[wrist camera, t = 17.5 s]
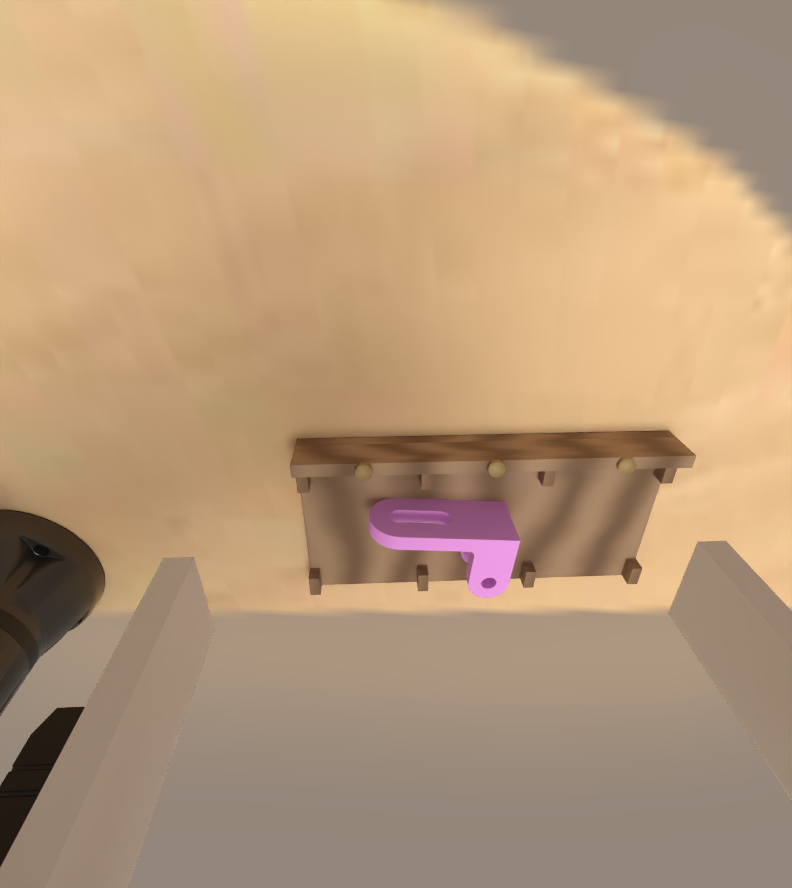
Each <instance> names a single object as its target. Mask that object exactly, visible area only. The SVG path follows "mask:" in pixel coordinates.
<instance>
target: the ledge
mask: <svg viewBox="0 0 792 888" xmlns="http://www.w3.org/2000/svg"><path fill="white" fill-rule="evenodd" d="M695 458H696V455H695V454H694V453H693V452H692V451H691V450H689V449H688V448H687V447H686V446H685V445H684V444H683V443H682V442H681V441H679V440H678V439H677V438H676V437H675V436H674V435H673V434H672V433H671V432H669V431H633V432H587V433H541V434H495V435H449V436H403V437H357V438H311V439H297V441H296V445H295V449H294V453H293V456H292V460H291V464H290V469H291V477H292V478H294V477H296V483H297V490H298V493H301V496H302V504H303V512H304V520H305V528H306V537H307V545H308V553H309V561H310V574H309V585H310V593H311V595H320V594H321V586H322V585H332V584H362V583H393V582H417V586H418V591H428V581H453V580H467V578H466V569H467V565H468V563H467V562H466V561H464V559H463V558H462V556H461V552H460V551H424V550H396V549H391V548H387V547H385V546H382V545H380V544H379V543H377V542H376V541H375V540H374V539H373V538H372V537H371V535H370V534H369V530H368V523H369V512H370V510H371V508H372V507H373V506H374V505H375V504H376V503H378V502H380V501H382V500H385V499H389V498H418V499H446V500H474V501H502V502H505V503H506V506H507V508H508V511H509V513H510V516H511V519H512V521H513V524H514V526H515V529H516V531H517V534H518V536H519V539H520V544H519V548H518V551H517V555H516V559H515V562H514V566H513V570H512V574H511V577H510V579H514V578H520V579H521V582H522V584H523V587H524V588H528V587H533V586H534V581H535V578H544V577H574V576H605V575H622V576H623V578H624V579H625V581H626V582H627V584H637V582H638V579H639V576H640V573H641V571H642V567H641V566H640V564H639V563H638V561H637V560H636V555H637V552H638V549H639V546H640V543H641V540H642V537H643V534H644V531H645V528H646V525H647V522H648V519H649V516H650V513H651V510H652V507H653V504H654V501H655V498H656V495H657V492H658V489H659V486H660V483H661V484H663V483H672V482H673V479H674V476H675V473H676V470H677V468H692V466H693V464H694V461H695ZM397 523H411V524H440V523H413V522H397ZM442 525H444V524H442Z"/></svg>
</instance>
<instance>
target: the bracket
mask: <svg viewBox="0 0 792 888" xmlns="http://www.w3.org/2000/svg"><path fill="white" fill-rule="evenodd" d="M397 522H413V523H440V524H411V523H397ZM442 524H444V525H442ZM368 530H369V534H370V535H371V537H372V538H373V539H374V540H375V541H376V542H377V543H379V544H380V545H382V546H385V547H387V548H391V549H396V550H424V551H460V552H461V556H462V558H463V559H464V561H466V562H467V563H468V565H467V569H466V578H467V582H468V586H469V589H470V591H471V592H472V593H473V594H474V595H476V596H478V597H483V598H489V597H494V596H497V595H499V594H501V593H502V592H503V591H505V590H506V588H507V587H508V585H509V581H510V577H511V574H512V570H513V566H514V562H515V559H516V555H517V551H518V548H519V544H520V539H519V536H518V534H517V531H516V529H515V526H514V524H513V521H512V519H511V516H510V513H509V511H508V508H507V506H506V503H505V502H502V501H474V500H446V499H418V498H389V499H385V500H382V501H380V502H378V503H376V504H375V505H374V506H373V507H372V508H371V510H370V512H369V523H368Z"/></svg>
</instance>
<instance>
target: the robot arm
mask: <svg viewBox="0 0 792 888" xmlns="http://www.w3.org/2000/svg"><path fill="white" fill-rule="evenodd" d="M104 586H105V577H104V572H103V569H102V566H101V564H100V562H99V560H98V559H97V557H96V556H95V554H94V553H93V552H92V551H91V549H90V548H89V547H88V546H87V545H86V544H85V543H84V542H83V541H81V540H80V539H79V538H78V537H76V536H75V535H74V534H72V533H71V532H69V531H68V530H66V529H64V528H63V527H61V526H59V525H57V524H55V523H53V522H50V521H48V520H46V519H43V518H40V517H37V516H34V515H30V514H26V513H22V512H16V511H7V510H0V716H1V714H2V713H3V711H4V710H5V708H6V707H7V705H8V704H9V702H10V701H11V699H12V698H13V696H14V695H15V693H16V692H17V690H18V689H19V687H20V686H21V684H22V683H23V681H24V680H25V678H26V676H27V675H28V673H29V672H30V670H31V669H32V668H33V666H34V664H35V663H36V662H37V660H38V659H39V658H40V657H41V656H42V655H43V654H44V653H46V652H47V651H48V650H49V649H50V648H51V647H53V646H54V645H55V644H56V643H57V642H58V641H59V640H60V639H61V638H62V637H63V636H64V635H65V634H66V633H67V632H68V631H70V630H72V629H74V628H75V627H77V626H78V625H79V624H80V623H82V622H83V621H84V620H85V619H86V618H87V617H88V616H89V615H90V613H91V612H92V610H93V609H94V607H95V605H96V604H97V602H98V601H99V599H100V597H101V596H102V593H103V591H104ZM668 614H669V615H670V617H671V618H672V620H673V622H674V623H675V624H676V626H677V627H678V629H679V631H680V632H681V634H682V635H683V637H684V638H685V640H686V641H687V643H688V644H689V646H690V647H691V649H692V650H693V652H694V653H695V655H696V656H697V658H698V660H699V661H700V663H701V664H702V665H703V667H704V668H705V670H706V672H707V673H708V675H709V676H710V678H711V679H712V681H713V682H714V684H715V685H716V687H717V688H718V690H719V691H720V693H721V694H722V696H723V697H724V699H725V700H726V702H727V704H728V705H729V707H730V708H731V710H732V711H733V713H734V714H735V716H736V717H737V719H738V720H739V722H740V723H741V725H742V726H743V728H744V729H745V731H746V732H747V734H748V735H749V737H750V738H751V740H752V742H753V743H754V745H755V746H756V748H757V749H758V751H759V752H760V754H761V755H762V757H763V758H764V760H765V761H766V763H767V764H768V766H769V767H770V769H771V770H772V772H773V773H774V775H775V776H776V778H777V779H778V781H779V783H780V784H781V785H782V787H783V788H784V790H785V791H786V793H787V795H788V796H789V798H790V799H791V801H792V611H791V610H790V609H789V608H788V607H787V606H786V604H785V603H784V602H783V601H782V600H781V599H780V598H779V597H778V596H777V595H776V594H775V593H774V592H773V591H772V590H771V588H770V587H769V586H768V585H767V584H766V583H765V582H764V581H763V580H762V579H761V578H760V577H759V576H758V575H757V574H756V572H755V571H754V570H753V569H752V568H751V567H750V566H749V565H748V564H747V563H746V562H745V561H744V560H743V559H742V558H741V556H740V555H739V554H738V553H737V552H736V551H735V550H734V549H733V548H732V547H731V546H730V545H729V544H728V543H727V542H726V541H706V542H697V545H696V547H695V549H694V552H693V554H692V557H691V559H690V562H689V564H688V566H687V569H686V571H685V574H684V576H683V579H682V581H681V583H680V586H679V588H678V591H677V593H676V596H675V598H674V601H673V603H672V605H671V608H670V610H669V613H668ZM214 630H215V629H214V626H213V623H212V619H211V615H210V612H209V608H208V605H207V601H206V597H205V594H204V590H203V587H202V583H201V580H200V576H199V573H198V569H197V566H196V562H195V558H194V557H182V558H163V560H162V562H161V564H160V566H159V568H158V569H157V571H156V573H155V575H154V577H153V579H152V581H151V583H150V585H149V587H148V588H147V590H146V592H145V594H144V596H143V598H142V600H141V602H140V604H139V605H138V607H137V609H136V611H135V613H134V615H133V617H132V619H131V621H130V623H129V625H128V627H127V628H126V630H125V632H124V634H123V636H122V638H121V640H120V642H119V644H118V645H117V647H116V649H115V651H114V653H113V655H112V657H111V659H110V661H109V663H108V664H107V666H106V668H105V670H104V672H103V674H102V676H101V678H100V679H99V682H98V683H97V685H96V687H95V689H94V691H93V693H92V695H91V697H90V698H89V700H88V702H87V704H86V706H85V707H68V708H57V709H56V710H55V711H54V712H53V713H52V714H51V715H50V716H49V717H48V718H47V719H46V720H45V721H44V722H43V723H42V724H41V725H40V726H39V727H38V728H37V729H36V730H35V731H34V732H33V733H32V734H31V735H30V737H29V739H28V740H27V742H26V744H25V746H24V747H23V749H22V750H21V752H20V754H19V755H18V757H17V759H16V761H15V762H14V764H13V768H12V771H11V772H8V774H7V776H6V777H5V779H4V781H3V782H2V784H1V786H0V888H128V886H129V883H130V880H131V877H132V874H133V871H134V868H135V865H136V862H137V859H138V856H139V853H140V850H141V847H142V844H143V841H144V838H145V835H146V832H147V829H148V826H149V823H150V820H151V818H152V815H153V811H154V808H155V806H156V803H157V800H158V797H159V794H160V791H161V788H162V785H163V782H164V779H165V776H166V773H167V770H168V767H169V764H170V761H171V758H172V755H173V752H174V749H175V746H176V743H177V740H178V737H179V734H180V731H181V728H182V725H183V722H184V719H185V716H186V714H187V710H188V707H189V704H190V702H191V699H192V696H193V693H194V690H195V686H196V684H197V681H198V678H199V675H200V672H201V669H202V666H203V663H204V660H205V657H206V654H207V651H208V648H209V645H210V642H211V639H212V636H213V633H214Z"/></svg>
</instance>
